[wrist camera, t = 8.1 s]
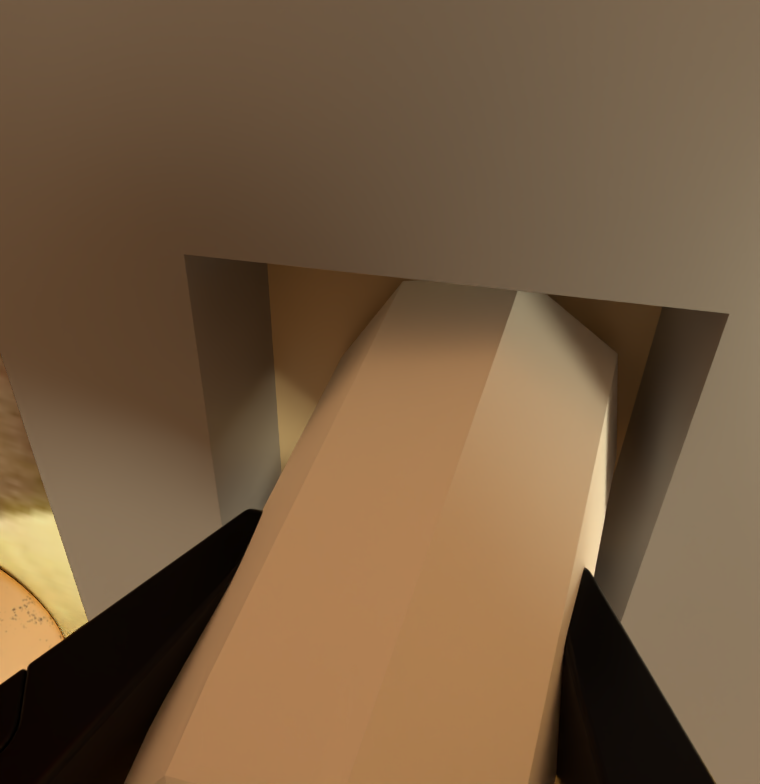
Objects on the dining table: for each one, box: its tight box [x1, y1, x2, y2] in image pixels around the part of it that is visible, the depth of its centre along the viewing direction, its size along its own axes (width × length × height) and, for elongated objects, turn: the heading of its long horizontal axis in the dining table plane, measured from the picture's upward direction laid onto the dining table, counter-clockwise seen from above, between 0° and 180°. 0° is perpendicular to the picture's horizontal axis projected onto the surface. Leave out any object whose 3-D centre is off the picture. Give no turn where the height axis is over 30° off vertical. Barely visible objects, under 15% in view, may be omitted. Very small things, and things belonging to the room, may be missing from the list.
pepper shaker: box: [124, 280, 618, 784], centre depth 8 cm, size 5×5×11 cm
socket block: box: [0, 0, 760, 784], centre depth 12 cm, size 14×14×4 cm
